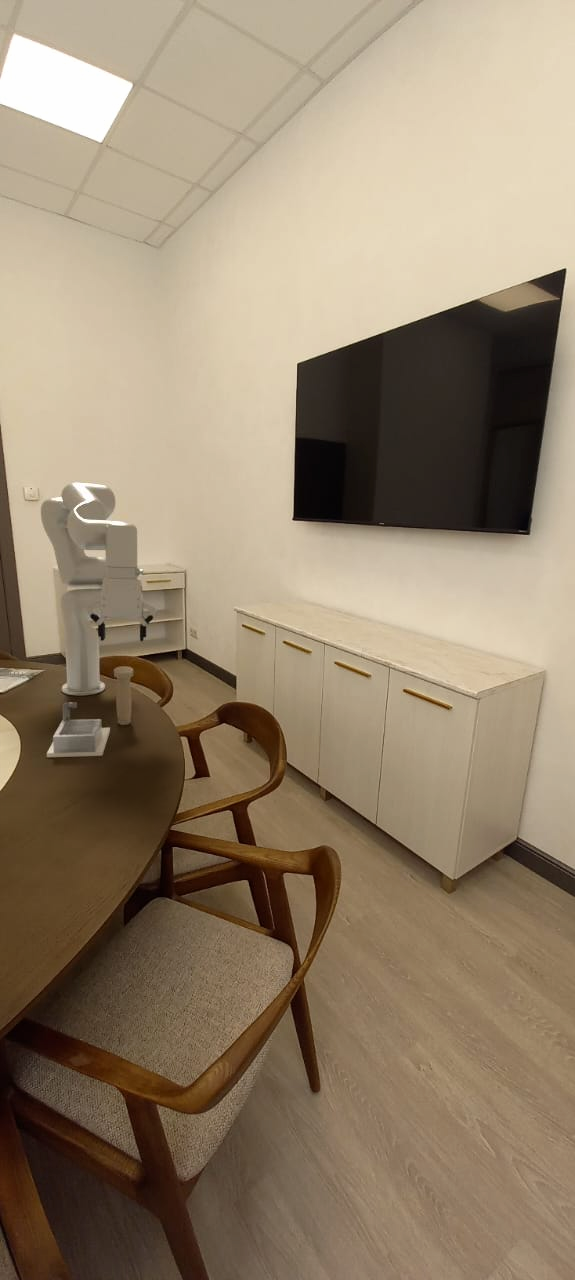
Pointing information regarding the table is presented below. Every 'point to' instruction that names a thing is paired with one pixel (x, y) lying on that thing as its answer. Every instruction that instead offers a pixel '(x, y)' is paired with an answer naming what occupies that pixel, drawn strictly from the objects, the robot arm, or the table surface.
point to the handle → (123, 694)
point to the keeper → (78, 736)
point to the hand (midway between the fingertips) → (122, 639)
